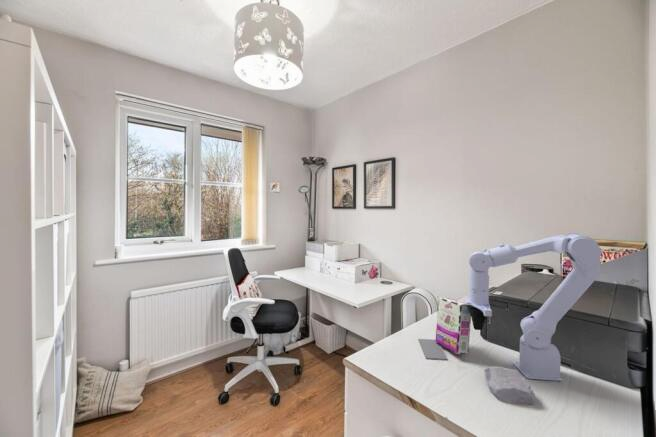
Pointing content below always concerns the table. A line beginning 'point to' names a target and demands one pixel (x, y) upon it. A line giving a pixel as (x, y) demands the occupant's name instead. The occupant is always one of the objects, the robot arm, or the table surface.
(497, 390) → the stone block
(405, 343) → the table surface
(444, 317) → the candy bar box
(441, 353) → the mat
